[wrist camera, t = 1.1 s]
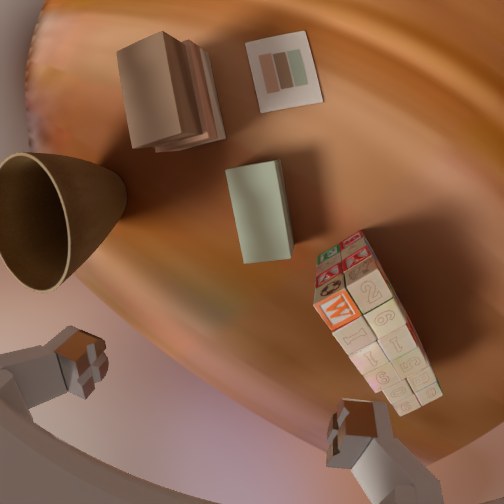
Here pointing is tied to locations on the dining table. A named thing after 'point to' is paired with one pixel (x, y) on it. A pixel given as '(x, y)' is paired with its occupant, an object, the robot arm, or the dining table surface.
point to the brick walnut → (158, 92)
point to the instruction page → (283, 72)
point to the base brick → (201, 101)
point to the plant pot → (54, 215)
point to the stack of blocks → (373, 324)
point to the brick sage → (261, 211)
